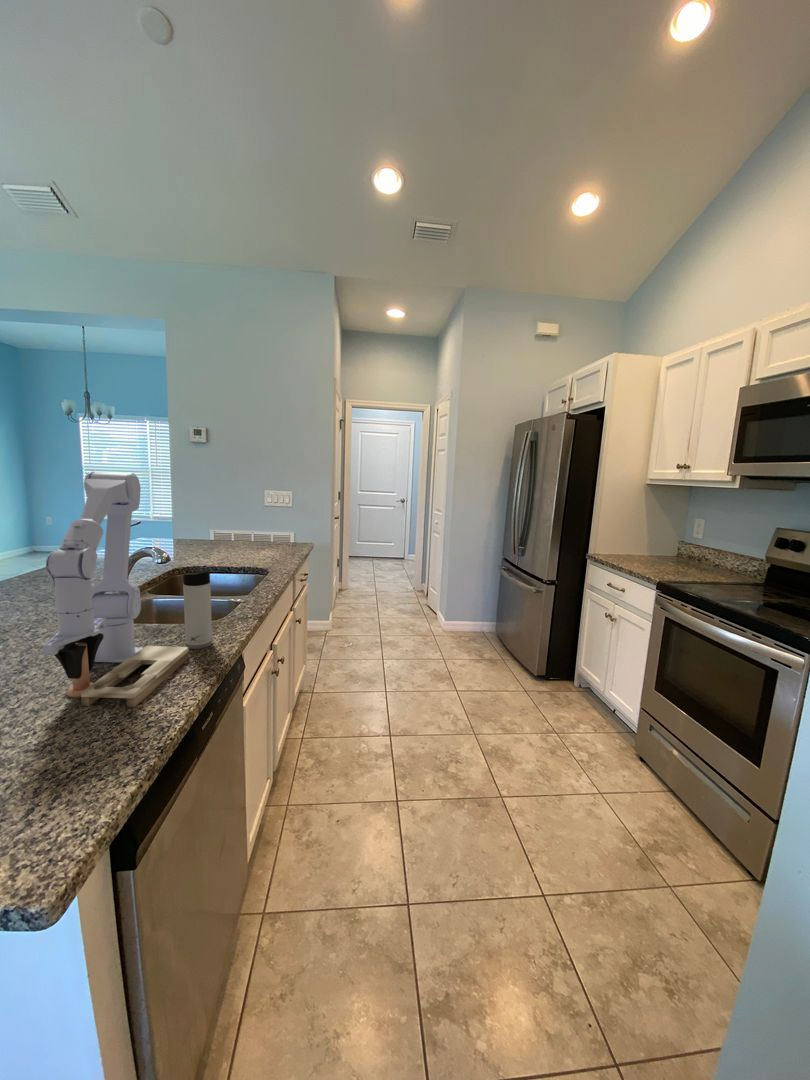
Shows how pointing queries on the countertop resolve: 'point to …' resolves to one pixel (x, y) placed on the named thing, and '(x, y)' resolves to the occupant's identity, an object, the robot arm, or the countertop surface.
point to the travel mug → (197, 609)
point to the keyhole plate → (162, 667)
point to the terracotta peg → (84, 679)
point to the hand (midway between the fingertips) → (80, 673)
